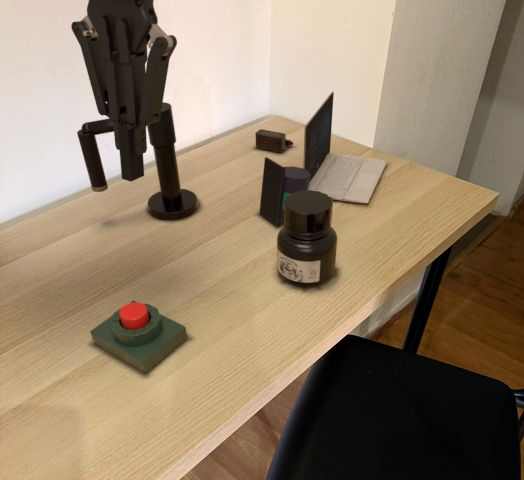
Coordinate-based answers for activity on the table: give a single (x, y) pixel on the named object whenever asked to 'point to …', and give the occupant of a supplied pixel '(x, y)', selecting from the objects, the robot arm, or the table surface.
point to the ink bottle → (307, 240)
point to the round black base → (170, 189)
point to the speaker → (280, 188)
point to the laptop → (337, 162)
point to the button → (134, 316)
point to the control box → (140, 339)
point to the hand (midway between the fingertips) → (133, 177)
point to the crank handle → (158, 131)
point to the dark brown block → (272, 140)
